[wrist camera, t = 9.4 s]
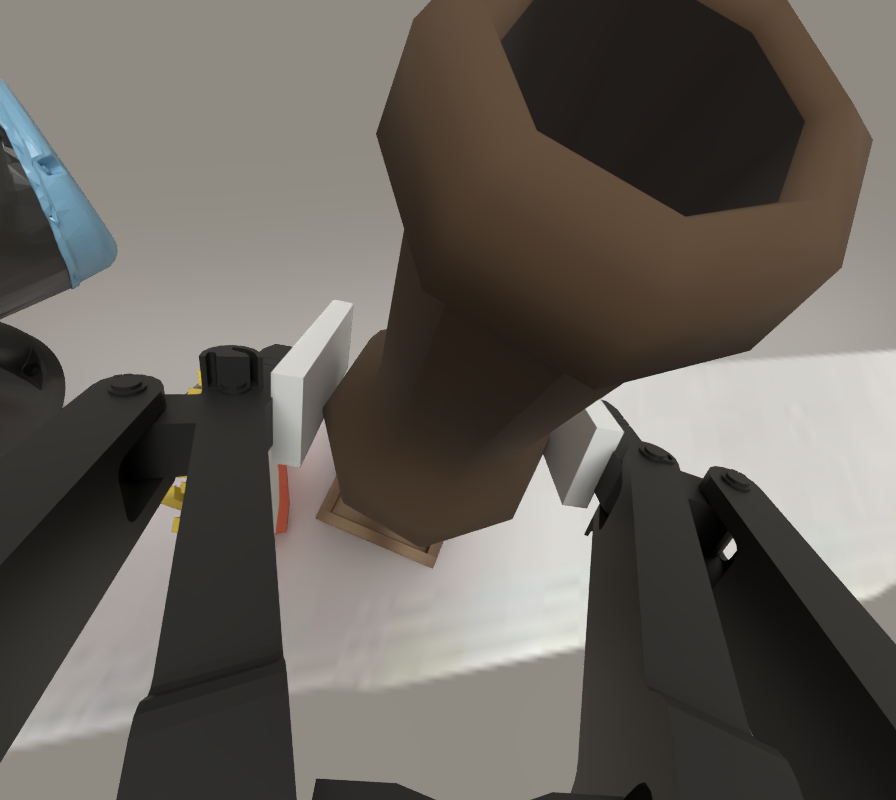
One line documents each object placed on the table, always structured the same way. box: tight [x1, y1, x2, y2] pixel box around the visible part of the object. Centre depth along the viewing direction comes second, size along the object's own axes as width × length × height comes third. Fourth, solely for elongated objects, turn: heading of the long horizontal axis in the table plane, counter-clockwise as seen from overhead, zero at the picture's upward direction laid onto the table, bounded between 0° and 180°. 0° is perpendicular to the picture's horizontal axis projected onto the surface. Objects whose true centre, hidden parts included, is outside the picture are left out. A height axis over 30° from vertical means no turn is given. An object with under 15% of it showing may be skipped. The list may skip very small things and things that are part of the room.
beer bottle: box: [323, 0, 873, 547], centre depth 14 cm, size 8×8×24 cm
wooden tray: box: [316, 476, 443, 568], centre depth 41 cm, size 12×12×2 cm
